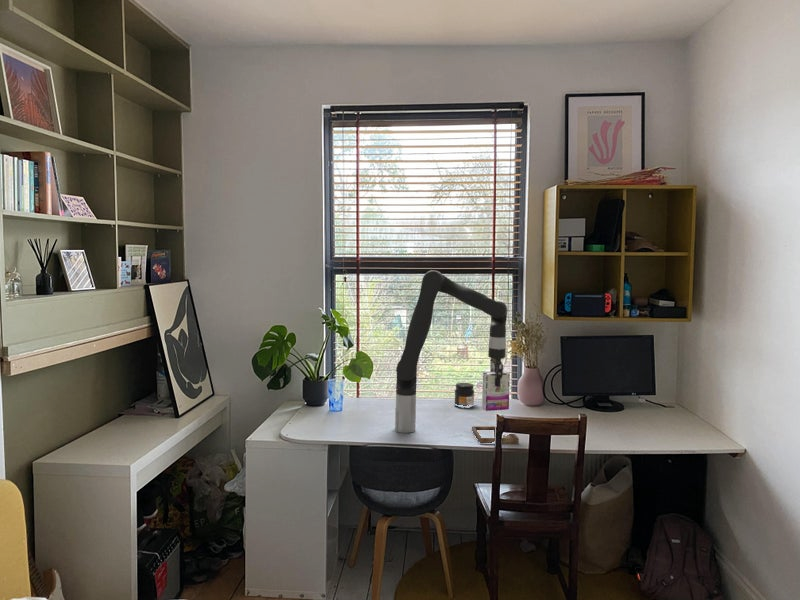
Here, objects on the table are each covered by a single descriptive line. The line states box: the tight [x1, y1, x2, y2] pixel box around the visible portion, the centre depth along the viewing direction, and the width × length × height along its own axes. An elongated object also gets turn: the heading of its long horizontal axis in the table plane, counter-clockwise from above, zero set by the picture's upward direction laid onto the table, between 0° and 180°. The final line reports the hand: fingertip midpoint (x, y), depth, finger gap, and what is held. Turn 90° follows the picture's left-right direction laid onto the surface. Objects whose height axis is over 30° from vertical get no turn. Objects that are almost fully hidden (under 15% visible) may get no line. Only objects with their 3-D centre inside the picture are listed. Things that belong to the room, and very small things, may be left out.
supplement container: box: [454, 382, 475, 406], centre depth 295 cm, size 10×10×12 cm
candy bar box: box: [481, 370, 510, 412], centre depth 243 cm, size 11×5×16 cm, turn 105°
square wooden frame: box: [471, 425, 520, 445], centre depth 244 cm, size 17×17×2 cm
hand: (495, 384), depth 243 cm, fingers closed on candy bar box, 5 cm apart
